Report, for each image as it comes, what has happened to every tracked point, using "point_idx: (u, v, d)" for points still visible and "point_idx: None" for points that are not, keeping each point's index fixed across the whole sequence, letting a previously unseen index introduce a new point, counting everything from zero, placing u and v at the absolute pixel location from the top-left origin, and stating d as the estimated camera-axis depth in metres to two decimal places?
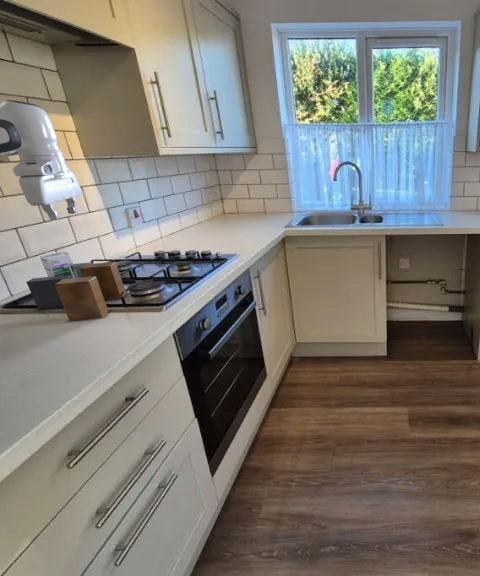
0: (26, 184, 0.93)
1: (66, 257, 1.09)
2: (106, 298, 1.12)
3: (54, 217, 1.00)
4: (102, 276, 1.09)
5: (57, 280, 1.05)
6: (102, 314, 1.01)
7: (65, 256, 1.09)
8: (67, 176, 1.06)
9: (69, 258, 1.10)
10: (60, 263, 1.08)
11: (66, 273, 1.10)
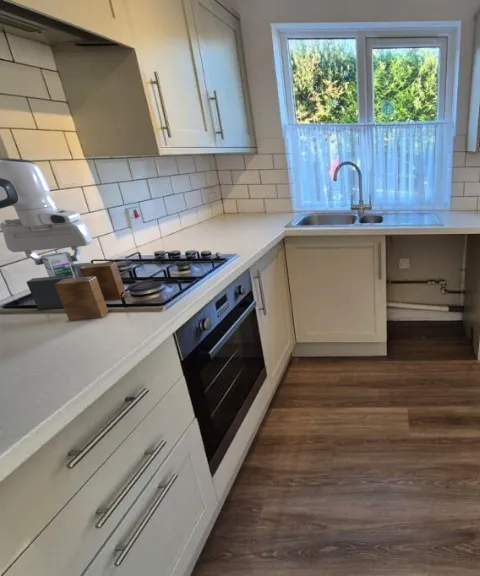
0: (81, 227, 1.07)
1: (68, 257, 1.09)
2: (106, 298, 1.12)
3: (79, 257, 1.11)
4: (102, 276, 1.09)
5: (57, 280, 1.05)
6: (102, 314, 1.01)
7: (66, 256, 1.09)
8: None
9: (70, 258, 1.10)
10: (61, 262, 1.08)
11: (66, 273, 1.10)
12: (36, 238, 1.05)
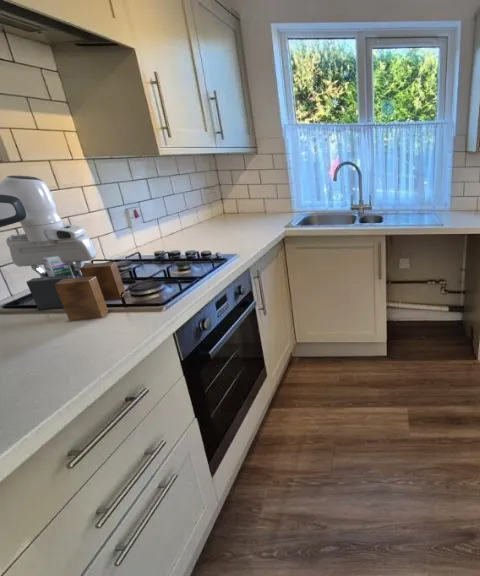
0: (86, 242, 1.09)
1: None
2: (106, 298, 1.12)
3: None
4: (102, 276, 1.09)
5: (57, 280, 1.05)
6: (102, 314, 1.01)
7: None
8: None
9: None
10: (60, 263, 1.08)
11: (66, 273, 1.10)
12: (42, 253, 1.06)
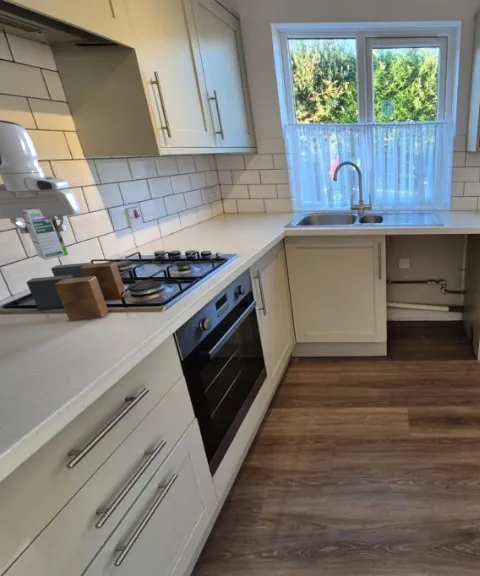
0: (69, 195, 1.04)
1: None
2: (106, 298, 1.12)
3: (65, 228, 1.07)
4: (102, 276, 1.09)
5: (57, 280, 1.05)
6: (102, 314, 1.01)
7: None
8: None
9: None
10: (41, 216, 1.03)
11: (47, 228, 1.04)
12: (21, 205, 1.01)
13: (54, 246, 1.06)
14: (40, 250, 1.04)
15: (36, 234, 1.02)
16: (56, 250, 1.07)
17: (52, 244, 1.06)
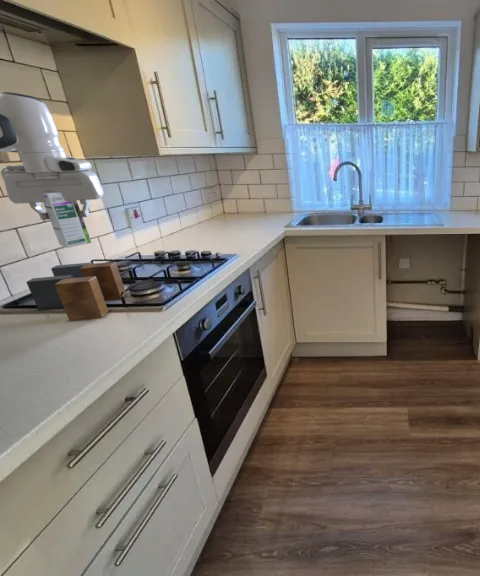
0: (92, 177, 0.95)
1: None
2: (106, 298, 1.12)
3: (88, 213, 0.99)
4: (102, 276, 1.09)
5: (57, 280, 1.05)
6: (102, 314, 1.01)
7: None
8: None
9: None
10: (62, 201, 0.94)
11: (69, 213, 0.96)
12: (42, 188, 0.93)
13: (77, 233, 0.98)
14: (62, 237, 0.97)
15: (58, 220, 0.94)
16: (79, 238, 0.99)
17: (74, 231, 0.98)
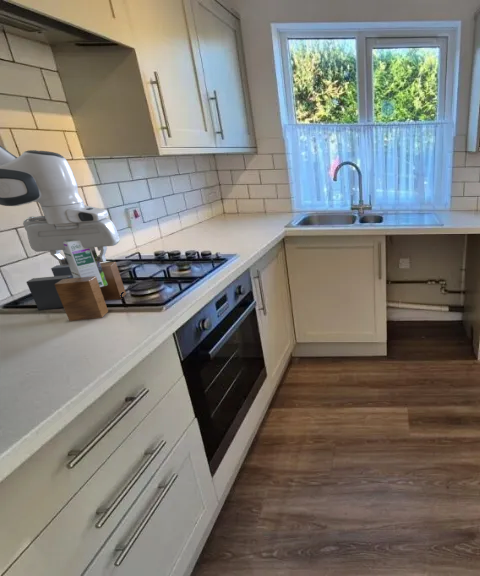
0: (109, 225, 1.00)
1: None
2: (106, 298, 1.12)
3: (105, 258, 1.04)
4: None
5: (57, 280, 1.05)
6: (102, 314, 1.01)
7: None
8: None
9: None
10: (81, 248, 0.99)
11: (87, 259, 1.01)
12: (62, 237, 0.97)
13: None
14: None
15: (77, 266, 0.99)
16: None
17: (92, 275, 1.02)
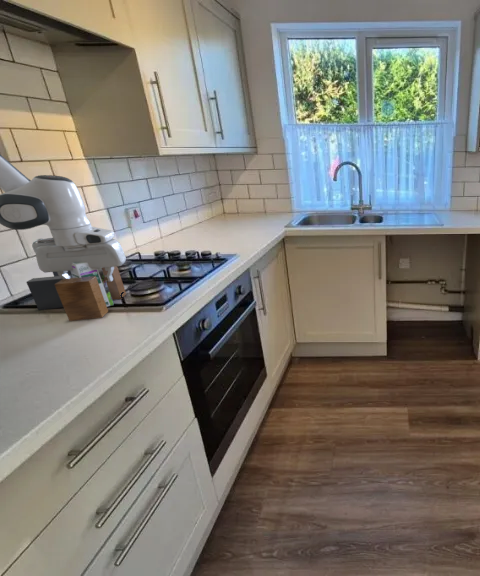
0: (116, 246, 1.02)
1: None
2: None
3: (112, 278, 1.06)
4: None
5: (57, 280, 1.05)
6: (102, 314, 1.01)
7: None
8: None
9: None
10: (89, 270, 1.02)
11: None
12: (70, 258, 1.00)
13: None
14: None
15: None
16: None
17: None
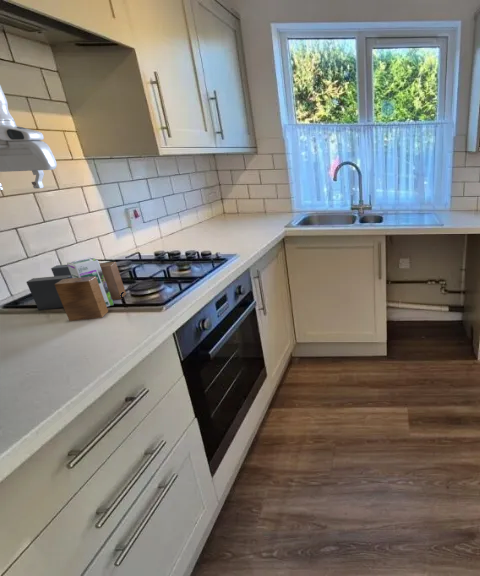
0: (43, 147, 0.95)
1: (95, 263, 1.03)
2: None
3: (42, 185, 0.99)
4: None
5: (57, 280, 1.05)
6: (102, 314, 1.01)
7: (93, 262, 1.02)
8: None
9: (98, 264, 1.03)
10: (88, 270, 1.02)
11: None
12: None
13: None
14: None
15: None
16: None
17: None
